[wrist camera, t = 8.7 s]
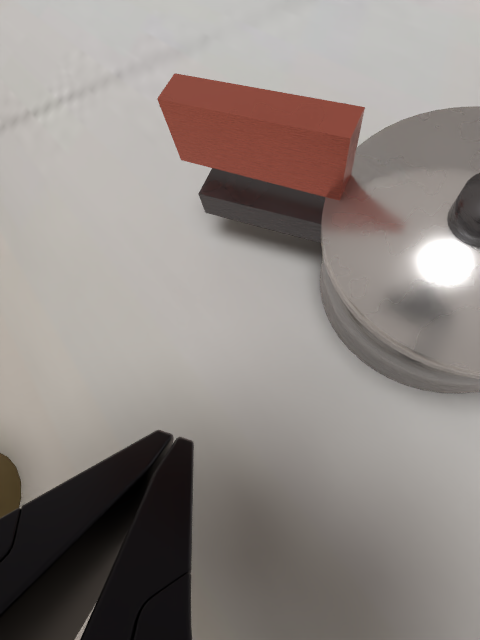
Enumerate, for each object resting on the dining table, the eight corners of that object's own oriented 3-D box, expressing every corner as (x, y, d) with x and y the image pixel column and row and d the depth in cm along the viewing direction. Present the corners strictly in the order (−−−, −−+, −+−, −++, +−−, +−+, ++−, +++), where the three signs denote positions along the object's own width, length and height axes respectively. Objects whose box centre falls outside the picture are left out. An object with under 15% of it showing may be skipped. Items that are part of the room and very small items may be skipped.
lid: (668, 154, 17) (800, 50, 13) (634, 441, 13) (807, 435, 9) (241, 80, 23) (229, -7, 19) (134, 258, 20) (86, 201, 15)
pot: (623, 228, 21) (714, 166, 17) (601, 453, 17) (711, 454, 13) (255, 153, 28) (247, 93, 23) (179, 305, 24) (151, 270, 19)
